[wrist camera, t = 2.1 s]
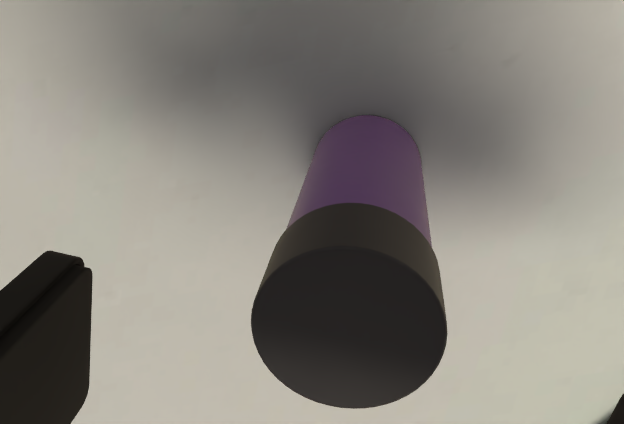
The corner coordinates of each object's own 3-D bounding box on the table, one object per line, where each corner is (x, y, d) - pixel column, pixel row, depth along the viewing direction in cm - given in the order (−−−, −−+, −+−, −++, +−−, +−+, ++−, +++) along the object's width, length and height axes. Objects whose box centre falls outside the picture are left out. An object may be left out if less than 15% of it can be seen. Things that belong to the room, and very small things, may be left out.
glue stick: (322, 100, 18) (265, 226, 10) (438, 125, 18) (473, 273, 10) (301, 205, 20) (238, 386, 12) (408, 228, 20) (417, 428, 12)
